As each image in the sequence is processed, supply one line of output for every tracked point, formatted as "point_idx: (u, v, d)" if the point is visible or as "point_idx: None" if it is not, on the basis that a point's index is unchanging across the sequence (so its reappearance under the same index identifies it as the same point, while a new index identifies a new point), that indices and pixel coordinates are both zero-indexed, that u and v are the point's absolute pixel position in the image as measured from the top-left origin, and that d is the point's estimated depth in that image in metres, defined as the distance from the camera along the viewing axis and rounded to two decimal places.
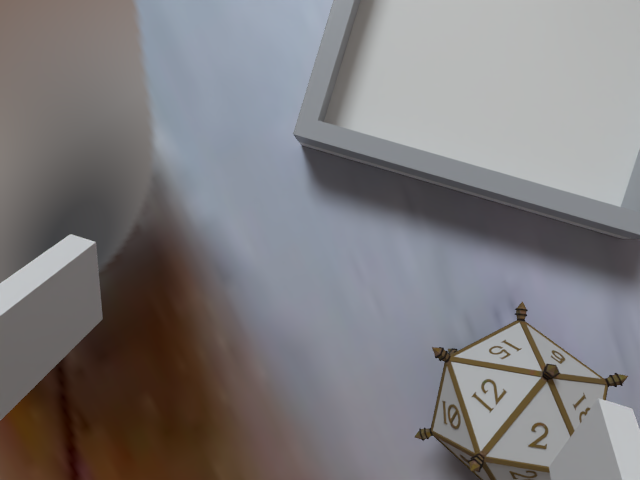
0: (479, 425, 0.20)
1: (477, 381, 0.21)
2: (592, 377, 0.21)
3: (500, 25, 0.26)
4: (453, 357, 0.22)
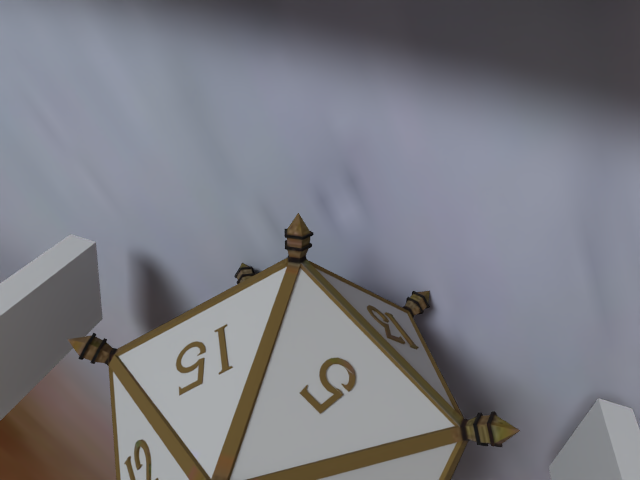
0: None
1: (133, 434, 0.09)
2: (417, 432, 0.08)
3: None
4: (116, 359, 0.10)
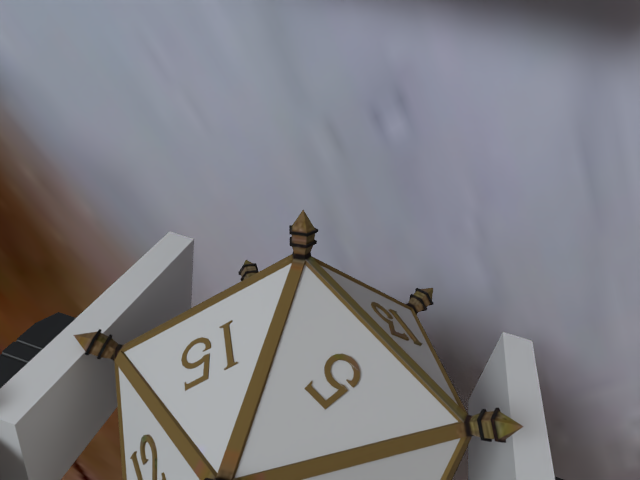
0: None
1: (139, 429, 0.09)
2: (421, 428, 0.08)
3: None
4: (122, 355, 0.10)
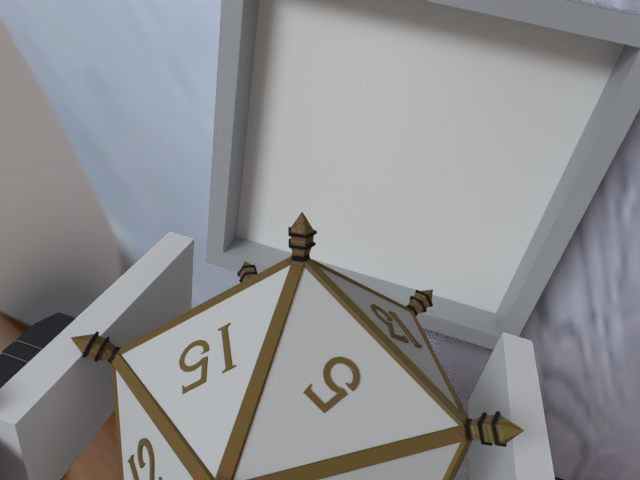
0: None
1: (137, 432, 0.09)
2: (421, 432, 0.08)
3: (383, 150, 0.25)
4: (119, 357, 0.10)
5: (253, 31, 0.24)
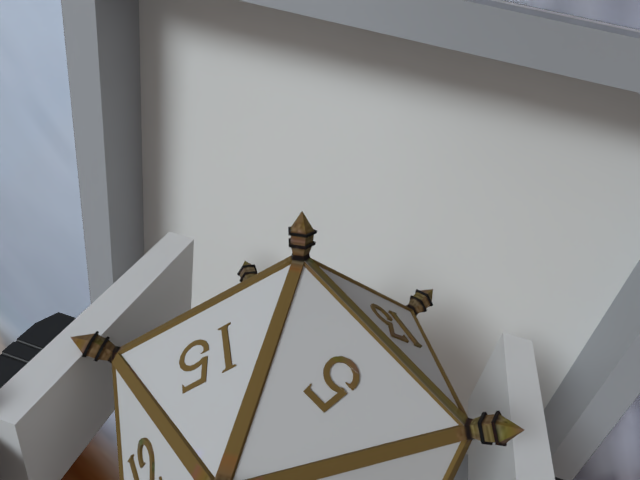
0: None
1: (137, 432, 0.09)
2: (421, 431, 0.08)
3: (340, 249, 0.17)
4: (119, 357, 0.10)
5: (133, 75, 0.15)
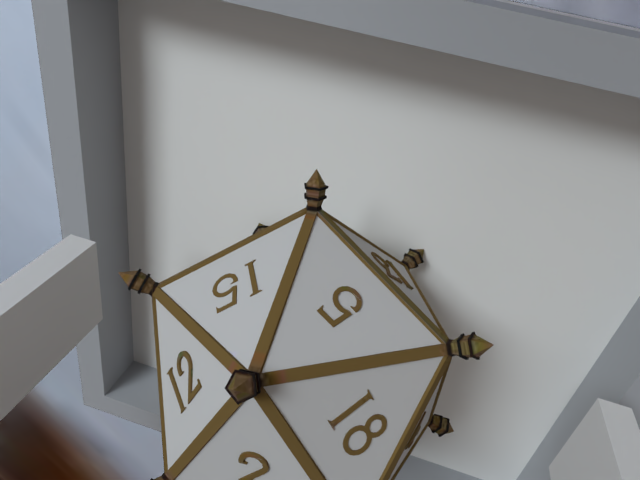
0: (170, 427, 0.11)
1: (176, 348, 0.11)
2: (411, 346, 0.10)
3: None
4: (159, 290, 0.12)
5: (113, 79, 0.14)
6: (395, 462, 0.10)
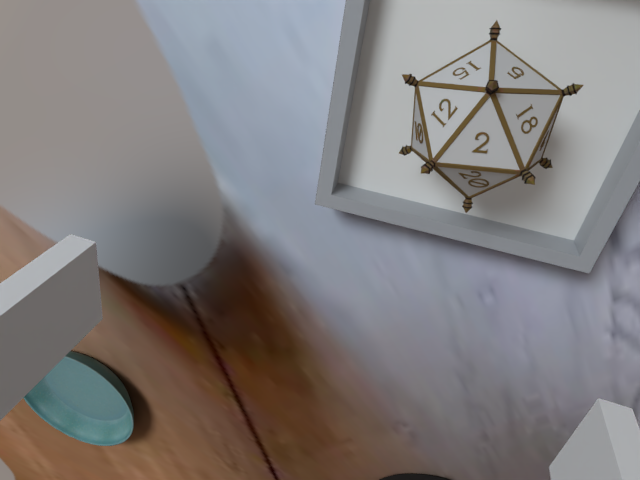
0: (434, 138, 0.24)
1: (437, 101, 0.24)
2: (547, 89, 0.23)
3: None
4: (421, 82, 0.25)
5: None
6: (540, 142, 0.23)
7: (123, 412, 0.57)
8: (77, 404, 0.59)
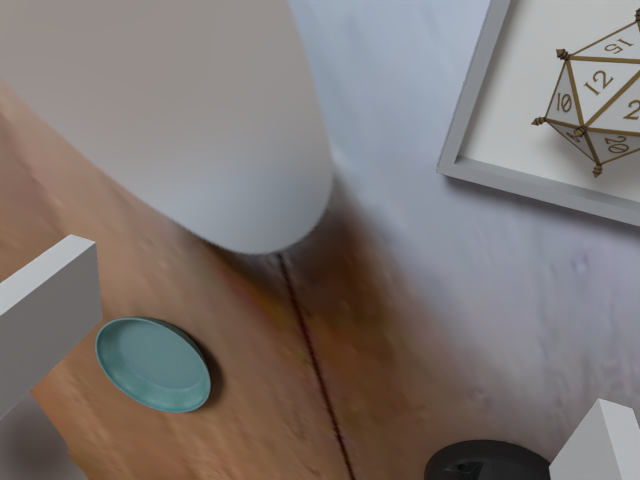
0: (586, 106, 0.27)
1: (590, 73, 0.27)
2: None
3: None
4: (572, 56, 0.28)
5: None
6: None
7: (196, 380, 0.60)
8: (149, 372, 0.61)
